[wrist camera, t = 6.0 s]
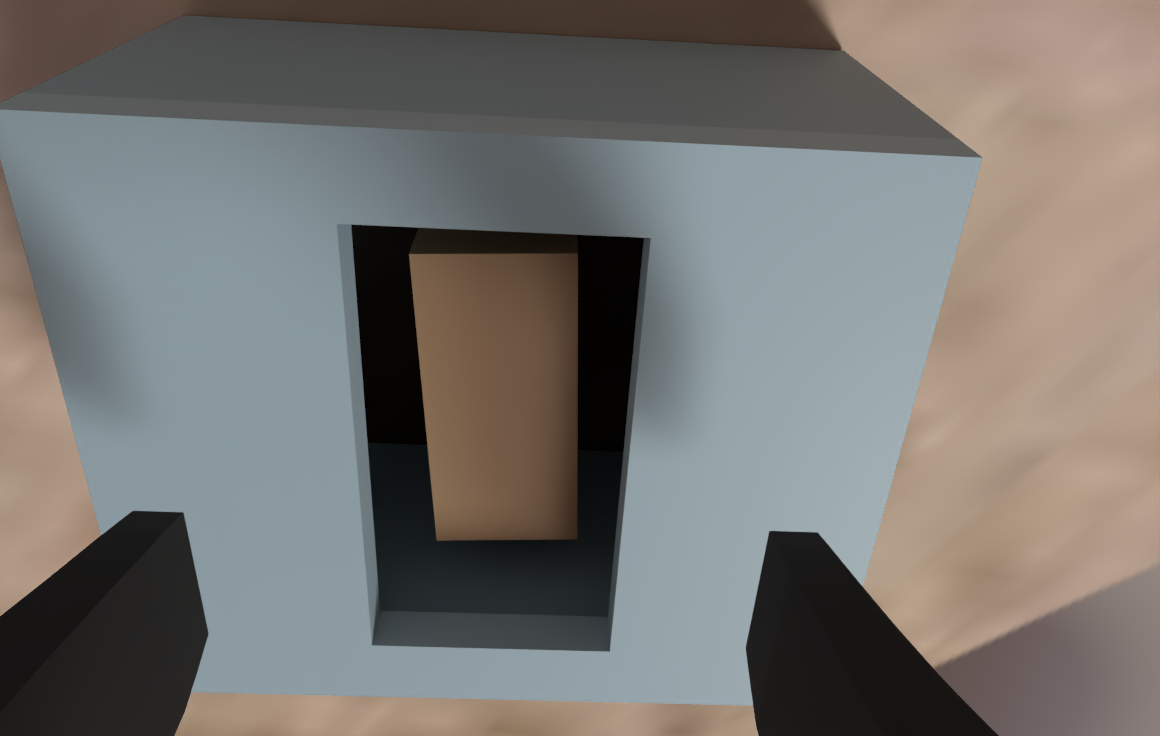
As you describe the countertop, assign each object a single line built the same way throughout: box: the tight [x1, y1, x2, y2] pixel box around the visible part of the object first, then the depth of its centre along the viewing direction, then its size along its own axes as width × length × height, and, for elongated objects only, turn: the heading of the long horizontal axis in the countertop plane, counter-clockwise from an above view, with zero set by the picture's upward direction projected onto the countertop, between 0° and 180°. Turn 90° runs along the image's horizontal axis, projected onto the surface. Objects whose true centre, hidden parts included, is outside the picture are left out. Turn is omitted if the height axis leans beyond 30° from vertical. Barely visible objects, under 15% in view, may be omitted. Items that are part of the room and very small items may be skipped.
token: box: [409, 228, 578, 541], centre depth 17 cm, size 2×6×5 cm, turn 179°
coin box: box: [0, 15, 982, 705], centre depth 16 cm, size 12×10×6 cm
